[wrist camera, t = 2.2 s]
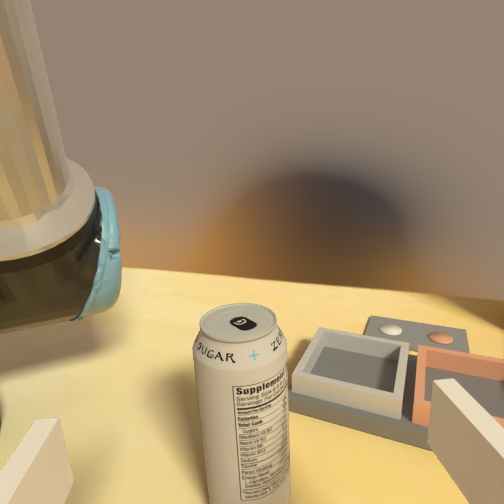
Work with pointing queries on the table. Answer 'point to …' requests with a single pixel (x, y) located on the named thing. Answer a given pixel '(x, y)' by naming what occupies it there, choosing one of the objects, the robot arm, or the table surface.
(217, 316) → the energy drink can
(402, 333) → the grey button plate
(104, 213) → the robot arm
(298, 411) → the socket plate
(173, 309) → the table surface
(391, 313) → the table surface
